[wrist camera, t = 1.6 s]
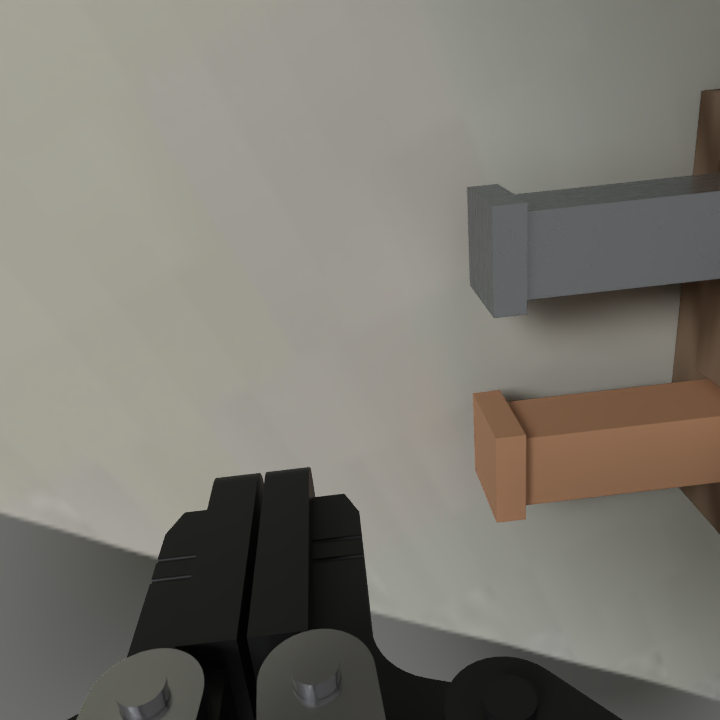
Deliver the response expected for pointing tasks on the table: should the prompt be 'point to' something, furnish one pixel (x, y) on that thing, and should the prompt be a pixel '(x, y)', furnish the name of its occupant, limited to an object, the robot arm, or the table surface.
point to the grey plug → (591, 239)
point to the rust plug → (595, 444)
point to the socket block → (702, 306)
